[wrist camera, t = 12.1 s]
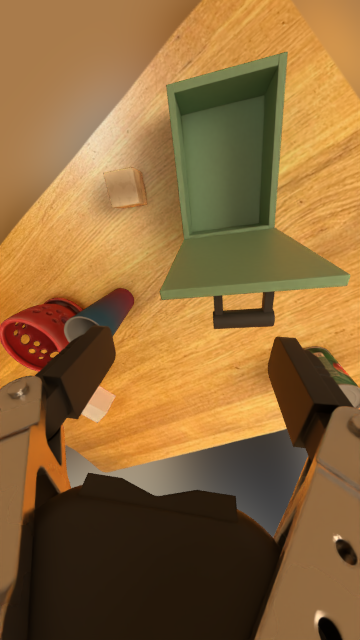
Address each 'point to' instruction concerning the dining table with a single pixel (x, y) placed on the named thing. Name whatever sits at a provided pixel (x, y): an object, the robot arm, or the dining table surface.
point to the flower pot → (38, 331)
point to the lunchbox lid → (247, 272)
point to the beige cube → (98, 404)
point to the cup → (101, 314)
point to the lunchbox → (228, 146)
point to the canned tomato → (338, 375)
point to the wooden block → (125, 188)
